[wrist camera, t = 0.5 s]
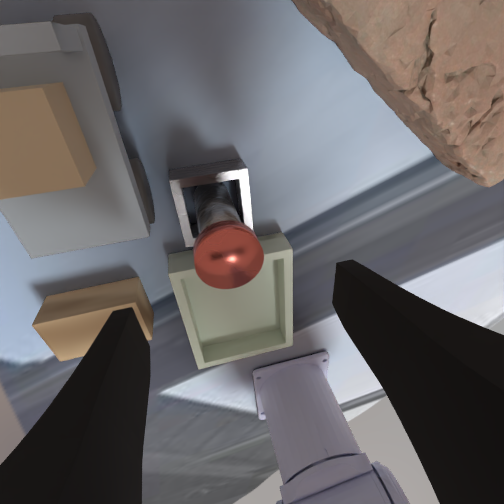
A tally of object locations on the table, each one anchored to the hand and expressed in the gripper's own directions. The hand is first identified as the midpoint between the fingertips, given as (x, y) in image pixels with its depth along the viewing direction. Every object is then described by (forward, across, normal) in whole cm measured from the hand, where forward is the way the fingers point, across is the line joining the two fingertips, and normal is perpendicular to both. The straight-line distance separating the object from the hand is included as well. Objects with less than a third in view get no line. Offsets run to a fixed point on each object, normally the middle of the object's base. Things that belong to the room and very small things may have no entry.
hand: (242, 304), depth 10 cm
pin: (+10, 0, 0) cm, 10 cm away
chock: (+10, +9, +7) cm, 15 cm away
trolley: (+10, +6, -4) cm, 12 cm away
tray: (+10, 0, +8) cm, 13 cm away
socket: (+10, 0, 0) cm, 10 cm away
